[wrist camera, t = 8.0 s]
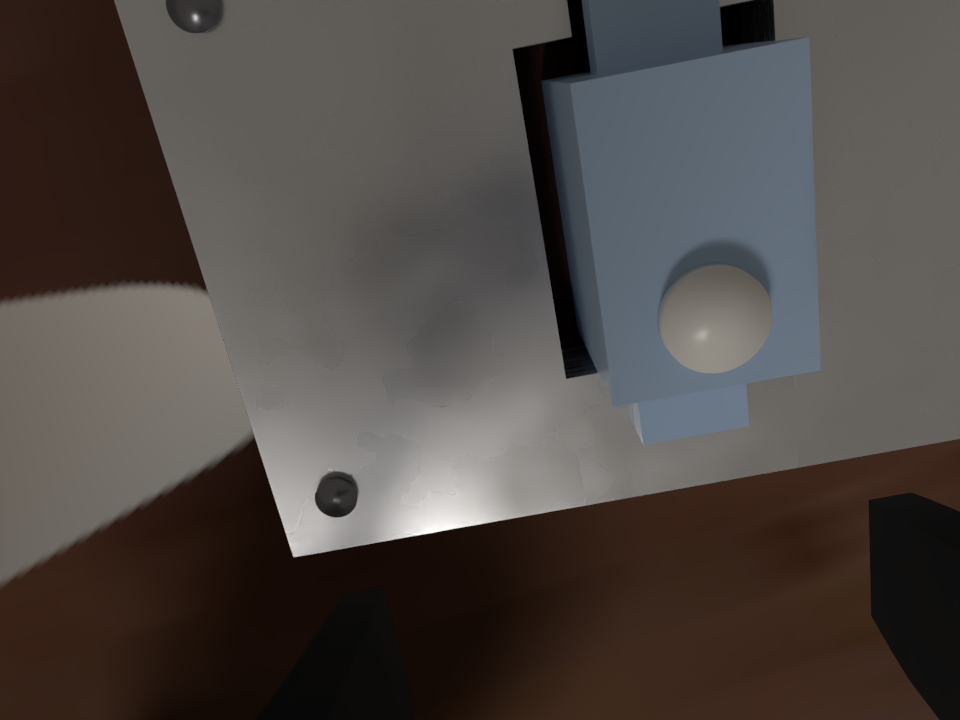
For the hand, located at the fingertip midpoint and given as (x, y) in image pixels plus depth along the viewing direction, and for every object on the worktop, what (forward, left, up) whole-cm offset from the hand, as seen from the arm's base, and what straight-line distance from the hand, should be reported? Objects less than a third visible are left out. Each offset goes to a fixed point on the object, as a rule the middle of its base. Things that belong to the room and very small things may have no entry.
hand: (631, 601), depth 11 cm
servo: (+3, +4, -9) cm, 11 cm away
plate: (+3, +4, -9) cm, 10 cm away
